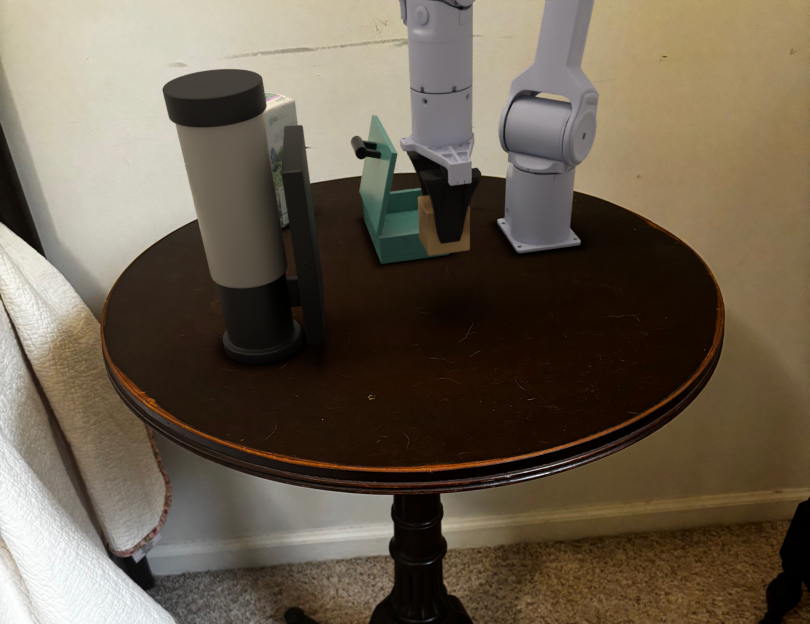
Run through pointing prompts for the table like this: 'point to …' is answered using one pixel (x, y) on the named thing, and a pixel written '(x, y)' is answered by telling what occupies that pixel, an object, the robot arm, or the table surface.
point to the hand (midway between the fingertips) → (444, 230)
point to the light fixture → (249, 213)
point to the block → (430, 234)
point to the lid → (376, 171)
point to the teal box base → (399, 229)
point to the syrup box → (278, 141)
